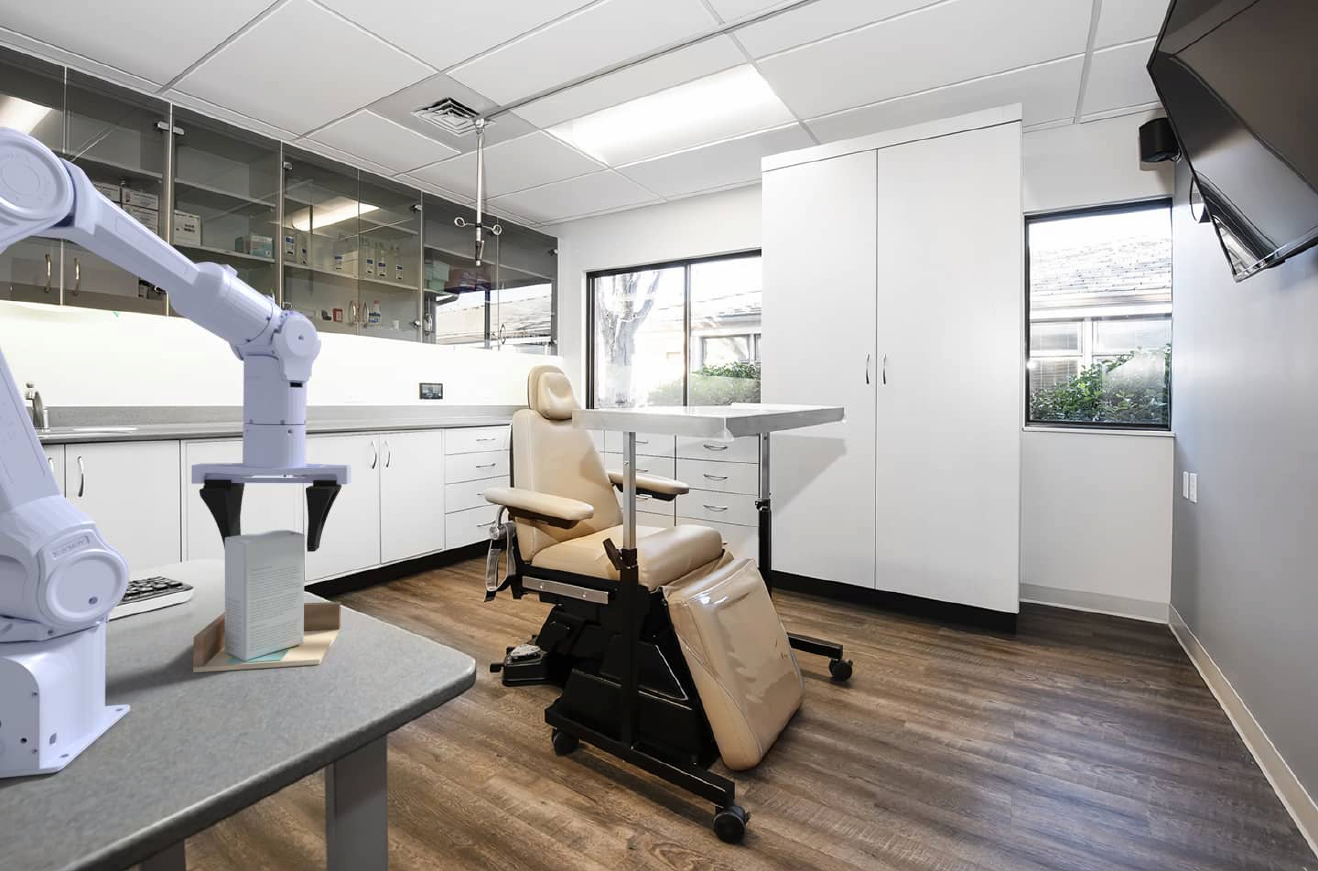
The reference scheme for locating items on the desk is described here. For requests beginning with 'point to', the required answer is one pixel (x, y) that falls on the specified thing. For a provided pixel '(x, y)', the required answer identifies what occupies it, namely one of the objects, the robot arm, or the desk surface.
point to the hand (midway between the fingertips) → (273, 550)
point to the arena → (316, 643)
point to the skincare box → (264, 593)
